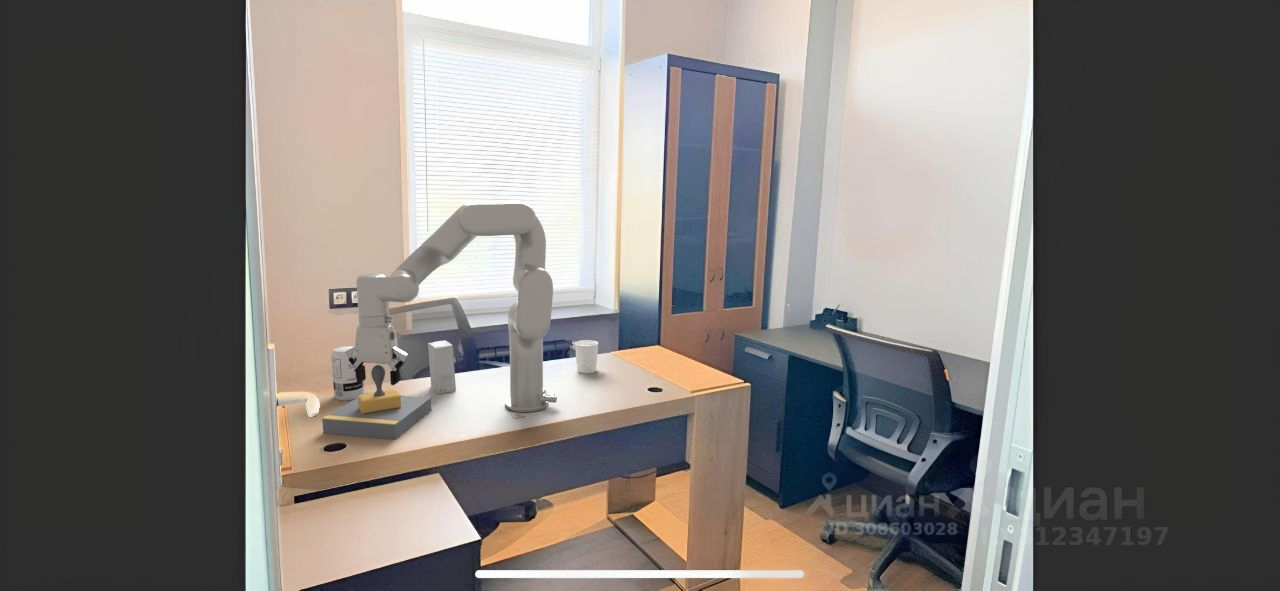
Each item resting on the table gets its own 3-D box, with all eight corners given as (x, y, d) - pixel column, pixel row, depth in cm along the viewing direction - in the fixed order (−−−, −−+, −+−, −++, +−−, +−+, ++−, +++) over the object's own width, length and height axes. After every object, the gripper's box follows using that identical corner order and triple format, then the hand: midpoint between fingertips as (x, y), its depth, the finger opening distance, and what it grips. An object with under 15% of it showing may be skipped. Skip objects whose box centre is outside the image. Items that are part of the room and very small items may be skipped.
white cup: (596, 374, 218) (597, 346, 216) (574, 373, 218) (574, 345, 216) (598, 367, 225) (599, 340, 223) (576, 366, 225) (576, 339, 223)
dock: (431, 411, 181) (431, 397, 180) (395, 439, 162) (394, 424, 161) (366, 405, 184) (365, 392, 183) (323, 433, 164) (322, 418, 164)
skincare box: (456, 391, 198) (454, 345, 195) (436, 394, 194) (435, 348, 192) (448, 383, 205) (446, 339, 202) (429, 386, 201) (427, 341, 198)
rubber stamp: (396, 401, 177) (394, 360, 175) (401, 407, 172) (399, 365, 170) (358, 407, 172) (355, 365, 169) (362, 414, 167) (359, 371, 165)
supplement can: (340, 392, 195) (337, 344, 192) (368, 391, 195) (365, 345, 192) (330, 401, 187) (326, 352, 184) (359, 401, 187) (355, 352, 184)
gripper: (412, 319, 170) (415, 380, 173) (352, 315, 172) (356, 376, 176) (397, 325, 163) (401, 389, 166) (335, 322, 165) (340, 384, 168)
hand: (378, 382), depth 171 cm, fingers open, 9 cm apart
